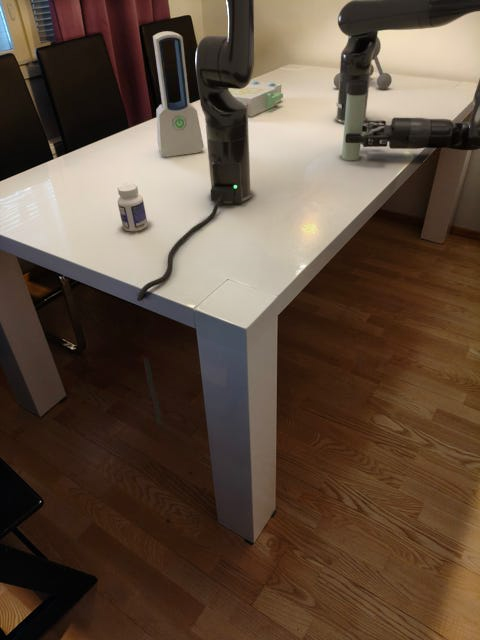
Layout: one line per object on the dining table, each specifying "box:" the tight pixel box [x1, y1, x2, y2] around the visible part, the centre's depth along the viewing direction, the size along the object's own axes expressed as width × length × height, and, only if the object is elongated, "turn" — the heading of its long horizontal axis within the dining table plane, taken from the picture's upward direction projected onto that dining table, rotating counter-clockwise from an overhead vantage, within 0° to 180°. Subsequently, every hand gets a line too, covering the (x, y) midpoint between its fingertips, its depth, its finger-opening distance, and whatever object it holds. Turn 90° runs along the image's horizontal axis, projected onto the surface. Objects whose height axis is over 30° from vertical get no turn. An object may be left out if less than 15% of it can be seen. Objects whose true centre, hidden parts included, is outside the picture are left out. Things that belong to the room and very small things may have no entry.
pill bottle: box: [117, 182, 148, 232], centre depth 102 cm, size 5×5×9 cm
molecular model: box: [333, 36, 393, 90], centre depth 184 cm, size 24×22×30 cm
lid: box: [346, 80, 368, 95], centre depth 121 cm, size 5×5×2 cm
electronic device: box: [152, 30, 205, 158], centre depth 133 cm, size 12×8×30 cm, turn 105°
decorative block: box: [229, 80, 284, 118], centre depth 173 cm, size 26×6×20 cm
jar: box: [341, 93, 366, 162], centre depth 126 cm, size 5×5×18 cm
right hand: (345, 133), depth 128 cm, fingers open, 8 cm apart
